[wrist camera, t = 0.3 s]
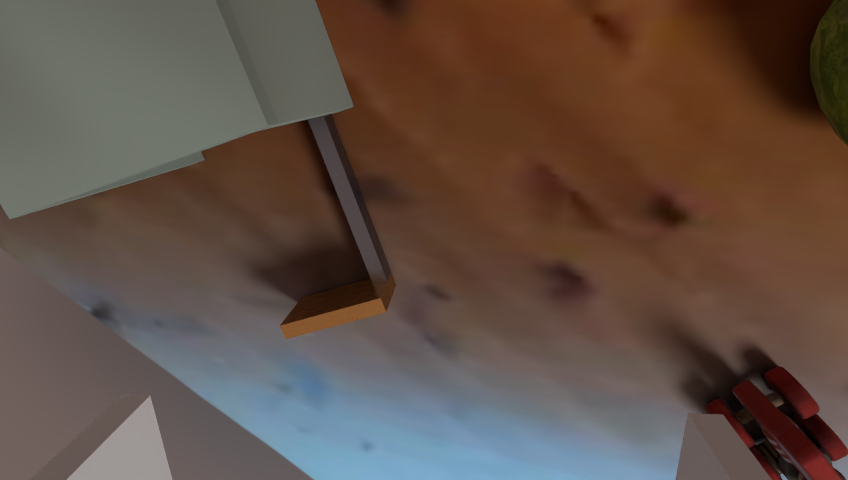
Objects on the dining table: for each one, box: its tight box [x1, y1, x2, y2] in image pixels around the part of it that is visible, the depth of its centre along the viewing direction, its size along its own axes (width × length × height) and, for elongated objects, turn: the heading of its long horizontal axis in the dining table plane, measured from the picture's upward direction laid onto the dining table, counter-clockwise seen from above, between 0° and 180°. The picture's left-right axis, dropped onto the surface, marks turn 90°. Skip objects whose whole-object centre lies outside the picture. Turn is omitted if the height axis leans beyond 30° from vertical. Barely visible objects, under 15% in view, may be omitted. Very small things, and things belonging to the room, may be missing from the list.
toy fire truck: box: [705, 366, 848, 480], centre depth 36 cm, size 7×12×10 cm, turn 40°
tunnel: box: [0, 0, 354, 219], centre depth 28 cm, size 13×14×16 cm
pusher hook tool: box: [280, 114, 396, 339], centre depth 35 cm, size 28×10×5 cm, turn 19°
